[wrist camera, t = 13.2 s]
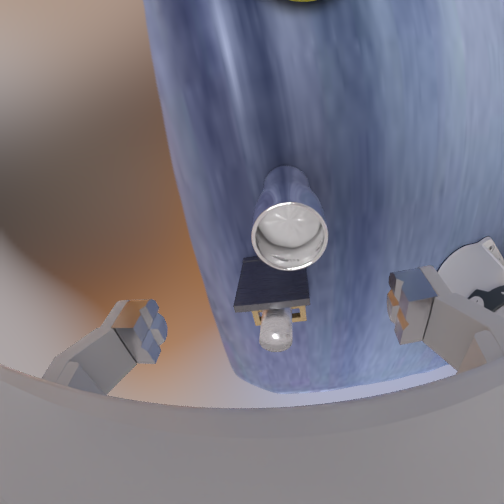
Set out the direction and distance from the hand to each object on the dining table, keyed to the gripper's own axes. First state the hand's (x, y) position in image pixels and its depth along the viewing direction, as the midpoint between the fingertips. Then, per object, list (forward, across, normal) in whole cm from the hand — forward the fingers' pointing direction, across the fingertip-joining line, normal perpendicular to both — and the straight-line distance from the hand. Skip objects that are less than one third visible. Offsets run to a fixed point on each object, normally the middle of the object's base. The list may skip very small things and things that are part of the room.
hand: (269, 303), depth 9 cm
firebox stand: (+29, +3, +19) cm, 35 cm away
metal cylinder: (+28, +3, +20) cm, 34 cm away
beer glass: (+29, 0, +5) cm, 30 cm away
